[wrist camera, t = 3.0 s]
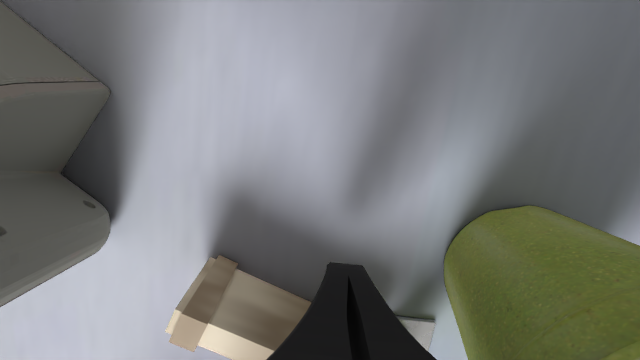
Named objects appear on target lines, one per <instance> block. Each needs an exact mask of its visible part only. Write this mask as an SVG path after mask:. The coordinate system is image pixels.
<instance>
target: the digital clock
mask: <svg viewBox="0 0 640 360" xmlns="http://www.w3.org/2000/svg"><path fill="white" fill-rule="evenodd" d="M110 93H111V92H110V90H109V88H107V87H106V86H105V85H104V84H102V83H101V82H100V81H99V80H97V79H96V78H95V77H94V76H92V75H91V74H90V73H89V72H87V71H86V70H85V69H84V68H82V67H81V66H80V65H79V64H78V63H76V62H75V61H74V60H73V59H71V58H70V57H69V56H68V55H66V54H65V53H64V52H63V51H61V50H60V49H59V48H58V47H56V46H55V45H54V44H53V43H51V42H50V41H49V40H48V39H47V38H45V37H44V36H43V35H42V34H40V33H39V32H38V31H37V30H35V29H34V28H33V27H32V26H30V25H29V24H28V23H27V22H25V21H24V20H23V19H22V18H20V17H19V16H18V15H17V14H15V13H14V12H13V11H12V10H11V9H9V8H8V7H7V6H6V5H4V4H3V3H2V2H1V1H0V307H1V306H3V305H5V304H7V303H8V302H10V301H12V300H14V299H16V298H17V297H19V296H21V295H23V294H24V293H26V292H28V291H30V290H31V289H33V288H35V287H37V286H39V285H40V284H42V283H44V282H46V281H47V280H49V279H51V278H53V277H54V276H56V275H58V274H60V273H62V272H63V271H65V270H67V269H69V268H70V267H72V266H74V265H76V264H77V263H79V262H81V261H83V260H85V259H86V258H88V257H90V256H92V255H93V254H95V253H96V252H98V251H99V250H100V249H101V247H102V246H103V245H104V244H105V242H106V241H107V239H108V237H109V234H110V218H109V213H108V211H107V210H106V209H105V207H104V206H103V205H101V204H100V203H99V202H98V201H96V200H95V199H94V198H93V197H91V196H90V195H88V194H87V193H86V192H84V191H83V190H82V189H80V188H79V187H78V186H76V185H75V184H73V183H72V182H71V181H69V180H68V179H67V178H65V177H64V176H63V175H61V174H60V173H61V172H62V170H63V168H64V167H65V165H66V164H67V162H68V161H69V159H70V158H71V156H72V154H73V153H74V151H75V150H76V148H77V147H78V145H79V144H80V142H81V140H82V139H83V137H84V136H85V134H86V133H87V131H88V129H89V128H90V126H91V125H92V123H93V122H94V120H95V119H96V117H97V115H98V114H99V112H100V111H101V109H102V108H103V106H104V104H105V103H106V101H107V100H108V98H109V96H110Z"/></svg>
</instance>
